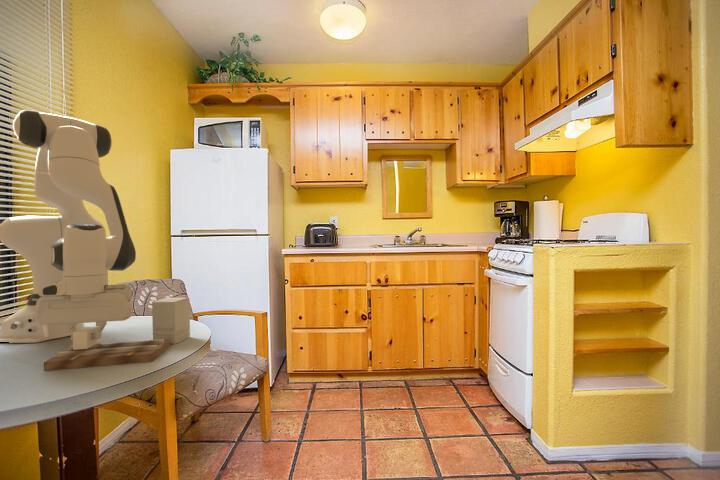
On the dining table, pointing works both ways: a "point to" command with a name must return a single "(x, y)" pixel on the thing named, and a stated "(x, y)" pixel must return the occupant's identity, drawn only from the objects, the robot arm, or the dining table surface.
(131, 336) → the dining table surface
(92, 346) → the beige cube
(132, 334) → the dining table surface
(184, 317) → the supplement box
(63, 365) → the brown striped wooden board
